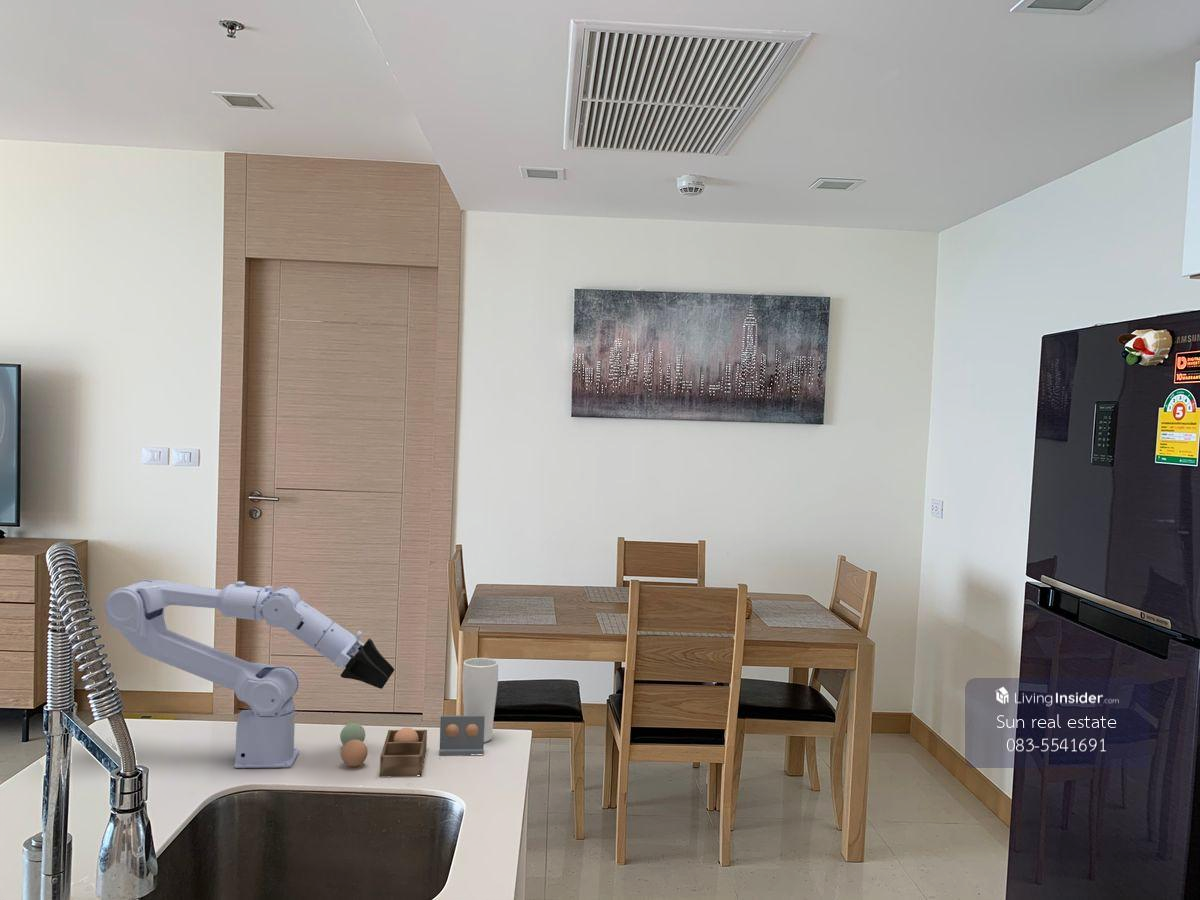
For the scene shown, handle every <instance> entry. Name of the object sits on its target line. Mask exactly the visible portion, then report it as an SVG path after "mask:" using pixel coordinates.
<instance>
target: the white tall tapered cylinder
mask: <svg viewBox="0 0 1200 900" xmlns="http://www.w3.org/2000/svg"><path fill="white" fill-rule="evenodd" d="M462 665H463V666H462V678H461V680H462V685H461V686H462V701H463V703H462V704H463V706H462V707H463V715H485V720H484V743H487V742H489V741H491V739H492V738H493V731H494V730H493V727H494V717H495V712H496V711H495V709H496V701H497V693H498V683H499V661H498V660H496V659H493V658H490V657H489V658H488V657H474V658H472V657H471V658H468V659H465V660H464V661H463V664H462Z"/></svg>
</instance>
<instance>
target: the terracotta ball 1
mask: <svg viewBox="0 0 1200 900" xmlns="http://www.w3.org/2000/svg"><path fill="white" fill-rule="evenodd" d="M368 752H369V750H368V746H367V745H366V744H365V743H364V742H362V741H360V740H351V741H348V742H347V743H346V744H345V745H343V746H342V748H341V752H340V757H341V760H342V762H343V763H344V764H345V765H346V766H348V767H353V768H354V767H359V766H360V765H362V764H363V763H364V762H365V761H366V759H367V757H368Z"/></svg>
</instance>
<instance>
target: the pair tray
mask: <svg viewBox="0 0 1200 900" xmlns="http://www.w3.org/2000/svg"><path fill="white" fill-rule="evenodd" d="M399 730H400V729H388V731H387V735H386V737H385V740H384V743H383V746H382V751H381V753H380V759H379V777H380V776H417V775H420V776H419V777H422V776H423V771H422V770H424V765H425V760H424V759H426V754H427V753H426V752H427V748H428V747H427V744H428V743H427V742H428V740H427V739H428V730H427V729H414V730H415V731H416V732H417V734H418V737H419V742H393V741H394V736H395V734H396V733H397V732H398V731H399ZM423 764H424V765H423Z"/></svg>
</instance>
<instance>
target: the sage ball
mask: <svg viewBox="0 0 1200 900" xmlns="http://www.w3.org/2000/svg"><path fill="white" fill-rule="evenodd" d="M339 734H340V735H339V736H340V742H341V743H342V745H343V746H344V745H345V744H346V743H347V742H348V741H351V740H360V741H362V742H363V743H364V742H365V740H366V739H365V738H366V731H365V727H363V725H362V724H360V723H357V722H351V723H348V724H346V725H345V726H344V727H343V728H342V729H341V731H340V733H339Z"/></svg>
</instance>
